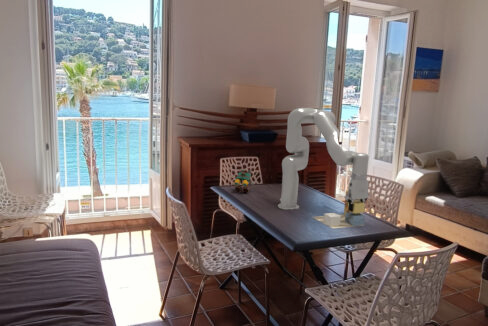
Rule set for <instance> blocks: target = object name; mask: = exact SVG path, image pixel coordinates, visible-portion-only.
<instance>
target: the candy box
mask: <svg viewBox="0 0 488 326" xmlns="http://www.w3.org/2000/svg"><path fill="white" fill-rule="evenodd" d="M347 193H348V189H346V191H345V195H346V194H347ZM349 198H350V197H349ZM351 200H352V199H351ZM355 200H358V201H360V199H355ZM355 200H354V201H355ZM347 209H348V202H347V200H346V199H345V198H344V208H343V215H344V216H345V213H348V212H350V211H348V210H347Z"/></svg>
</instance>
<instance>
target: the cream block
mask: <svg viewBox="0 0 488 326" xmlns="http://www.w3.org/2000/svg"><path fill="white" fill-rule="evenodd" d="M339 215H340V214H337V213H334V212H329V213H323V216H324V222H323V223H322V224H324V223H325V224H327V225H328V226H327V225H326V226H327V227H329V226H340V219H341V216H339ZM325 224H324V225H325Z"/></svg>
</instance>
